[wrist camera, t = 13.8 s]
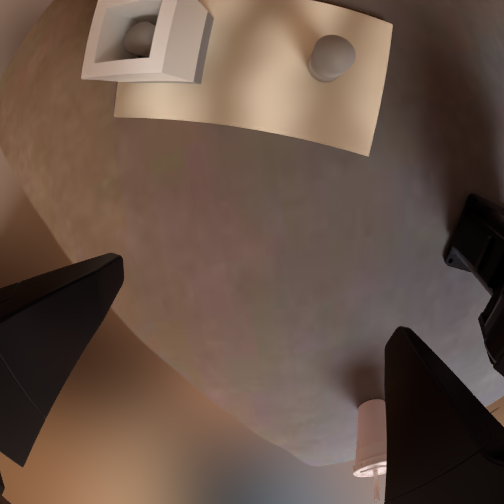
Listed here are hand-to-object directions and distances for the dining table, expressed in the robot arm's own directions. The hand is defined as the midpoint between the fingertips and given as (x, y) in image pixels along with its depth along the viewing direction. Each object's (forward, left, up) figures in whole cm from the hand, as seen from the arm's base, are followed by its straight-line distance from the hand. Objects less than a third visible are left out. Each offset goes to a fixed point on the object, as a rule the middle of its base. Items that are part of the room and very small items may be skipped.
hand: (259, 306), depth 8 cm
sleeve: (+9, -9, -12) cm, 17 cm away
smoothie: (-18, +24, -13) cm, 33 cm away
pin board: (+4, -9, -13) cm, 16 cm away
